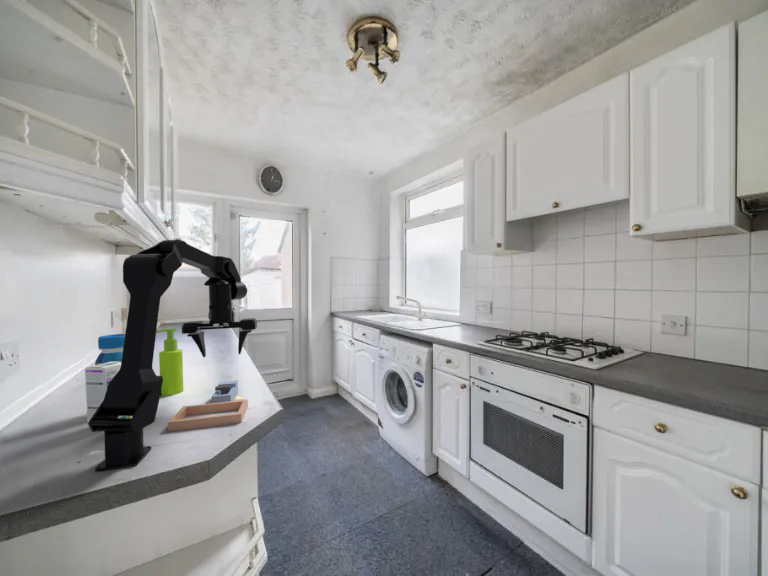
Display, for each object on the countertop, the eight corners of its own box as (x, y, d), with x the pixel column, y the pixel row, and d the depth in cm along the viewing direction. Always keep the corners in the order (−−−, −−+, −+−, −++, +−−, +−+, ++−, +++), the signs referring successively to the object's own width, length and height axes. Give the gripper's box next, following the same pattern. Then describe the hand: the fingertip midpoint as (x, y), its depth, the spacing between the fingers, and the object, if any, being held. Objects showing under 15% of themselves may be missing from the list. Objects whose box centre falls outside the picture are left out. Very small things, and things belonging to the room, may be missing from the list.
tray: (241, 424, 75) (241, 414, 75) (168, 433, 71) (168, 422, 71) (248, 409, 85) (247, 399, 85) (183, 416, 81) (183, 406, 81)
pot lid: (241, 408, 85) (241, 389, 85) (199, 413, 83) (198, 394, 83) (247, 396, 95) (246, 379, 95) (209, 399, 93) (209, 382, 92)
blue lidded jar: (117, 417, 81) (115, 337, 81) (86, 416, 82) (84, 338, 82) (145, 404, 90) (142, 332, 90) (116, 404, 90) (114, 333, 90)
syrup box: (106, 430, 74) (104, 367, 73) (86, 429, 75) (84, 366, 75) (131, 420, 79) (129, 361, 79) (111, 418, 80) (109, 360, 80)
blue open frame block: (230, 406, 86) (230, 391, 86) (211, 408, 84) (211, 393, 84) (237, 393, 96) (237, 380, 96) (220, 395, 94) (220, 381, 94)
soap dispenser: (154, 395, 98) (152, 329, 98) (181, 389, 102) (179, 326, 102) (157, 400, 93) (155, 330, 93) (185, 394, 98) (183, 328, 98)
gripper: (258, 298, 103) (259, 347, 103) (192, 301, 98) (193, 352, 98) (254, 300, 92) (255, 355, 93) (180, 303, 87) (182, 360, 88)
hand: (222, 355), depth 93 cm, fingers open, 9 cm apart
